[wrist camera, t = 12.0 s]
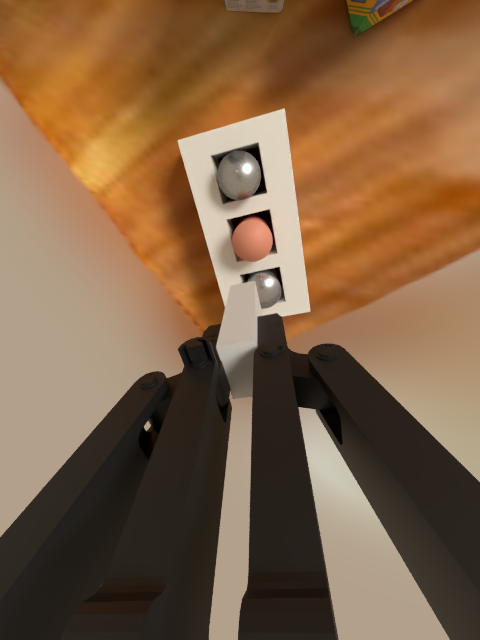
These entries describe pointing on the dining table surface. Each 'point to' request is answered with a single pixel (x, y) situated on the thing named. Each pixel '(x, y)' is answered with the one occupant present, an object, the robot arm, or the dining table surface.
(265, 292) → the plunger
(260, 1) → the coffee box
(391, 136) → the dining table surface
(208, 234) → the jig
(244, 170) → the plunger
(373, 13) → the chalk box
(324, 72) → the dining table surface
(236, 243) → the pink short cylinder
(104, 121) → the dining table surface
